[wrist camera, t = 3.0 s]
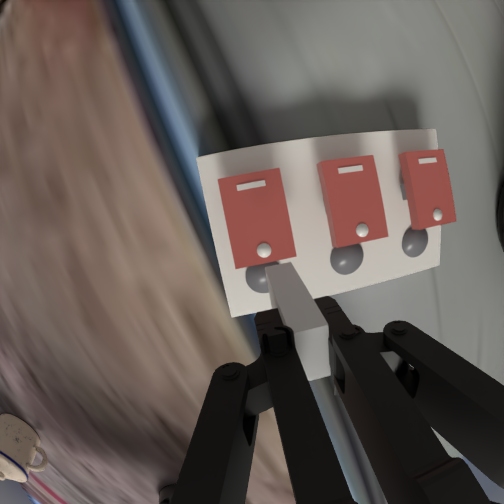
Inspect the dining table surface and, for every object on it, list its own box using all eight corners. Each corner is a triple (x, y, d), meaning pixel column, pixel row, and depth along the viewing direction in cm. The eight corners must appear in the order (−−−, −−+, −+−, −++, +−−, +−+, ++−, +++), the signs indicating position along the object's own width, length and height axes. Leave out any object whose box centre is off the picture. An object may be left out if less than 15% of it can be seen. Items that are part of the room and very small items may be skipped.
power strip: (230, 301, 30) (231, 318, 27) (198, 156, 26) (196, 157, 23) (423, 255, 31) (440, 265, 28) (418, 129, 27) (437, 129, 24)
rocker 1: (235, 264, 24) (235, 269, 22) (218, 183, 24) (217, 179, 21) (289, 253, 25) (296, 256, 22) (274, 173, 24) (279, 167, 21)
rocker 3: (403, 228, 25) (419, 229, 22) (390, 157, 24) (405, 151, 22) (439, 220, 25) (456, 221, 23) (427, 154, 25) (443, 148, 22)
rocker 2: (326, 245, 25) (337, 247, 22) (311, 167, 24) (320, 161, 21) (374, 235, 25) (388, 236, 22) (360, 160, 24) (373, 154, 22)
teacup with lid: (9, 436, 35) (-11, 480, 24) (-8, 405, 32) (-34, 451, 22) (62, 455, 37) (46, 505, 26) (47, 425, 34) (25, 480, 23)
